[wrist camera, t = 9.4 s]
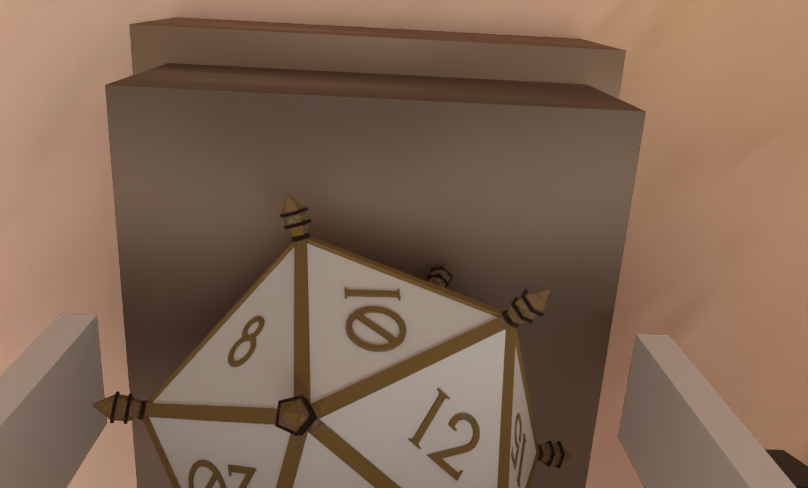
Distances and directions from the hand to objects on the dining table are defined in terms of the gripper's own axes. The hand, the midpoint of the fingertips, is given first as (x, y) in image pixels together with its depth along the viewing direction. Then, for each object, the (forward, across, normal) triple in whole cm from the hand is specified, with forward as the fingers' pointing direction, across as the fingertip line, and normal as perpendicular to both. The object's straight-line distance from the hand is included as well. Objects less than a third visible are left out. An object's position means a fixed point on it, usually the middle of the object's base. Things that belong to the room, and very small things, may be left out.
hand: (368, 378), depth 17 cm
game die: (+2, 0, 0) cm, 2 cm away
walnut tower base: (+12, 0, 0) cm, 12 cm away
